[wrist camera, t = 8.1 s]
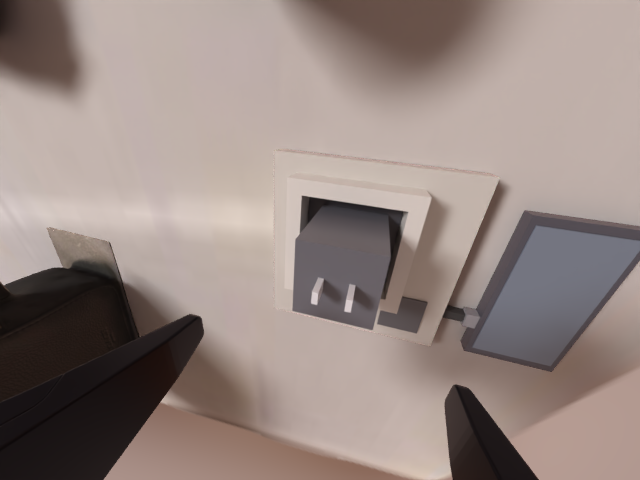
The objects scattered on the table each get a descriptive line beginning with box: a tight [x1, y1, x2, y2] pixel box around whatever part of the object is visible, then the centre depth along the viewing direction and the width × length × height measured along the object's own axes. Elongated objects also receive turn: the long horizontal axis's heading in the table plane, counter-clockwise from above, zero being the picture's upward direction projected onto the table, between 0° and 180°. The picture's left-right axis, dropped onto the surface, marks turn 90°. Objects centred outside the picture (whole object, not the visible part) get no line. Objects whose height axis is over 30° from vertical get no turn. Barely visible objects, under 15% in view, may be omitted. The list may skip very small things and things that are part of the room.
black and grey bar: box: [443, 306, 480, 329], centre depth 19 cm, size 3×1×1 cm, turn 85°
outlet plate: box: [274, 149, 500, 347], centre depth 18 cm, size 14×14×4 cm
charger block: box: [292, 205, 391, 330], centre depth 14 cm, size 4×4×7 cm
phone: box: [461, 210, 640, 372], centre depth 17 cm, size 6×12×1 cm, turn 175°
